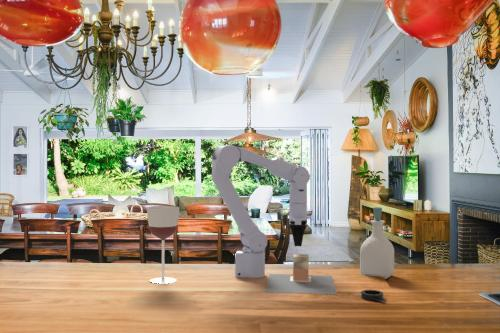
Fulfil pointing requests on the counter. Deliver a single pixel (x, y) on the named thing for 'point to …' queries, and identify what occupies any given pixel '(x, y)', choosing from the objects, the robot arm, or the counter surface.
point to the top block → (301, 261)
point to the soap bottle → (377, 251)
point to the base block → (300, 274)
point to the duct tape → (372, 295)
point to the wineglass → (163, 231)
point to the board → (300, 284)
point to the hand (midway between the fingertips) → (298, 244)
